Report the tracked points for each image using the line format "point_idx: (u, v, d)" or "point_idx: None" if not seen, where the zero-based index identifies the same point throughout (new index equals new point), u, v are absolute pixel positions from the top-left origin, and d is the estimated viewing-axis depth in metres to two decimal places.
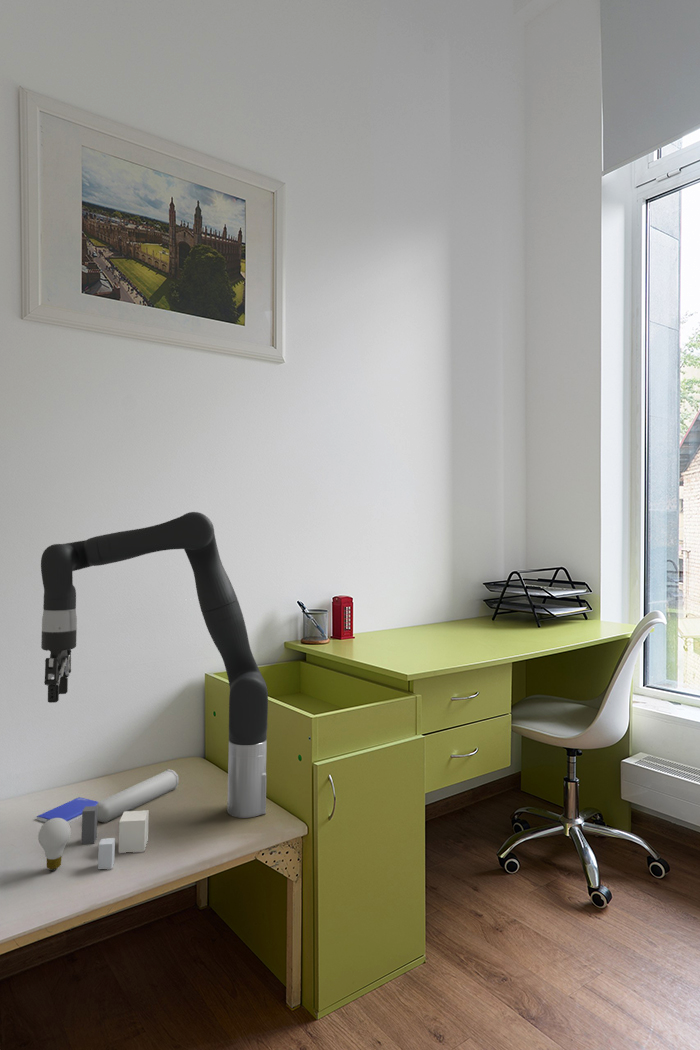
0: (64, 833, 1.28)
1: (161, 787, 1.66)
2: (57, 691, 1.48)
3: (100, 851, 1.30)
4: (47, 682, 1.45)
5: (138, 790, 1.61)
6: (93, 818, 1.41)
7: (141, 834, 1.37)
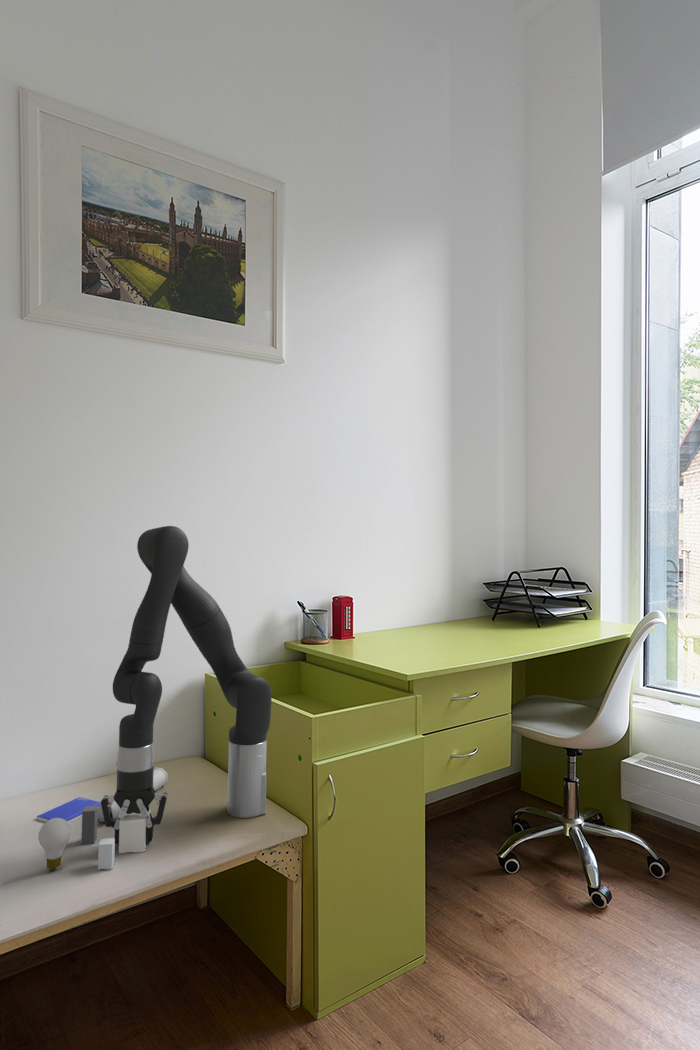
0: (64, 833, 1.28)
1: (154, 784, 1.68)
2: None
3: (100, 851, 1.30)
4: None
5: None
6: (93, 818, 1.41)
7: (141, 834, 1.37)
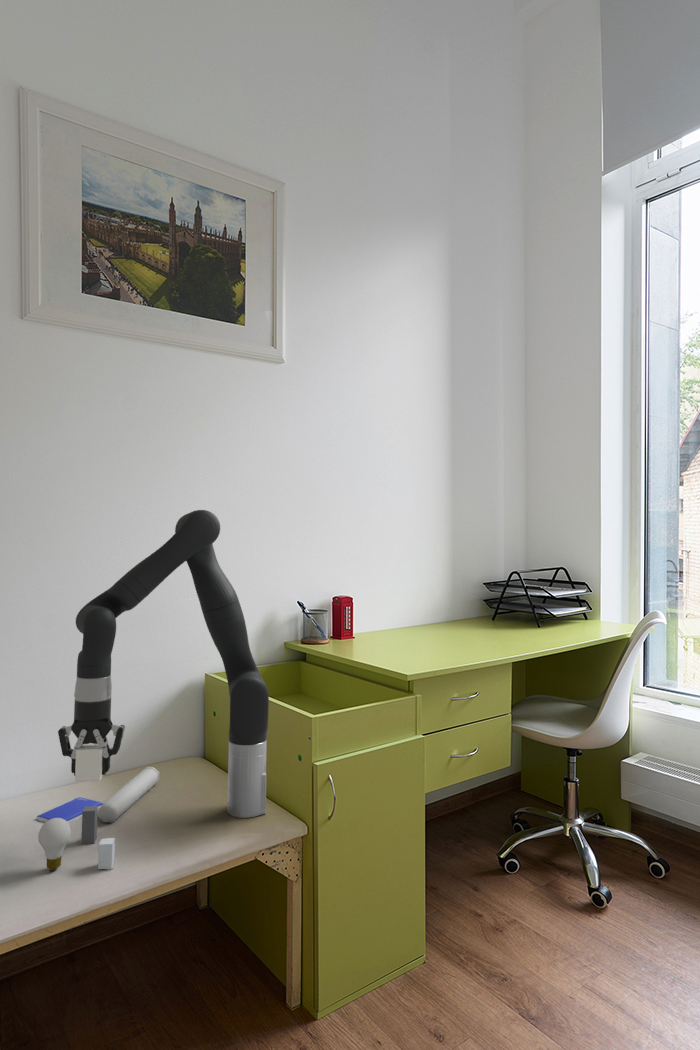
0: (64, 833, 1.28)
1: (148, 783, 1.69)
2: None
3: (100, 851, 1.30)
4: (117, 751, 1.43)
5: (133, 788, 1.62)
6: (93, 818, 1.41)
7: (97, 763, 1.40)
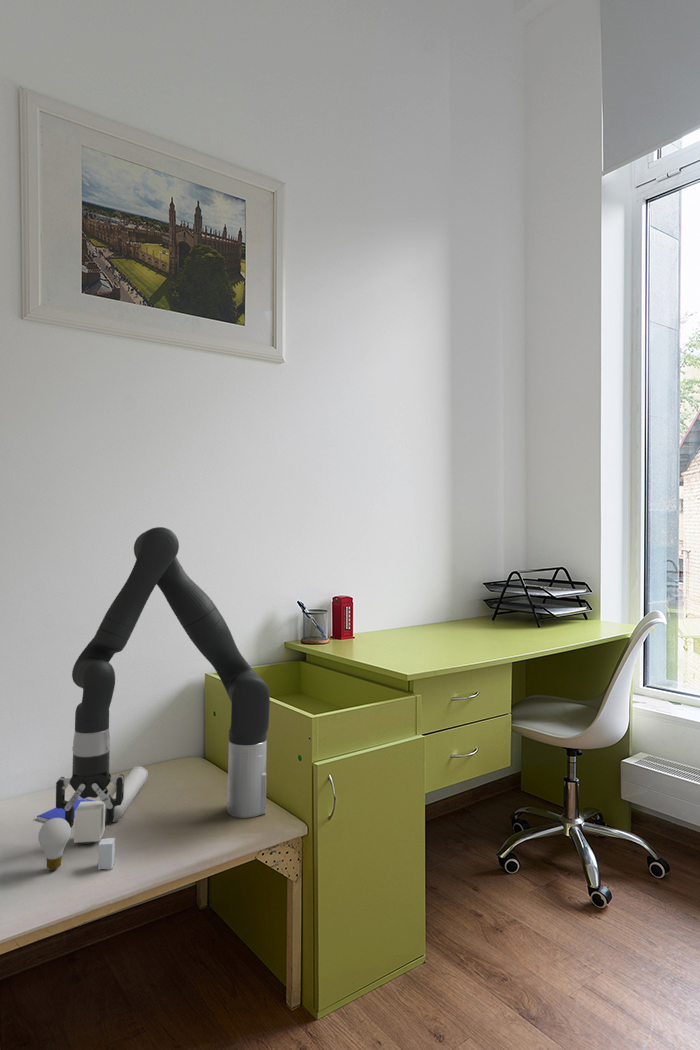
0: (64, 833, 1.28)
1: (141, 782, 1.69)
2: None
3: (100, 851, 1.30)
4: (121, 801, 1.42)
5: (130, 788, 1.62)
6: None
7: (96, 824, 1.40)
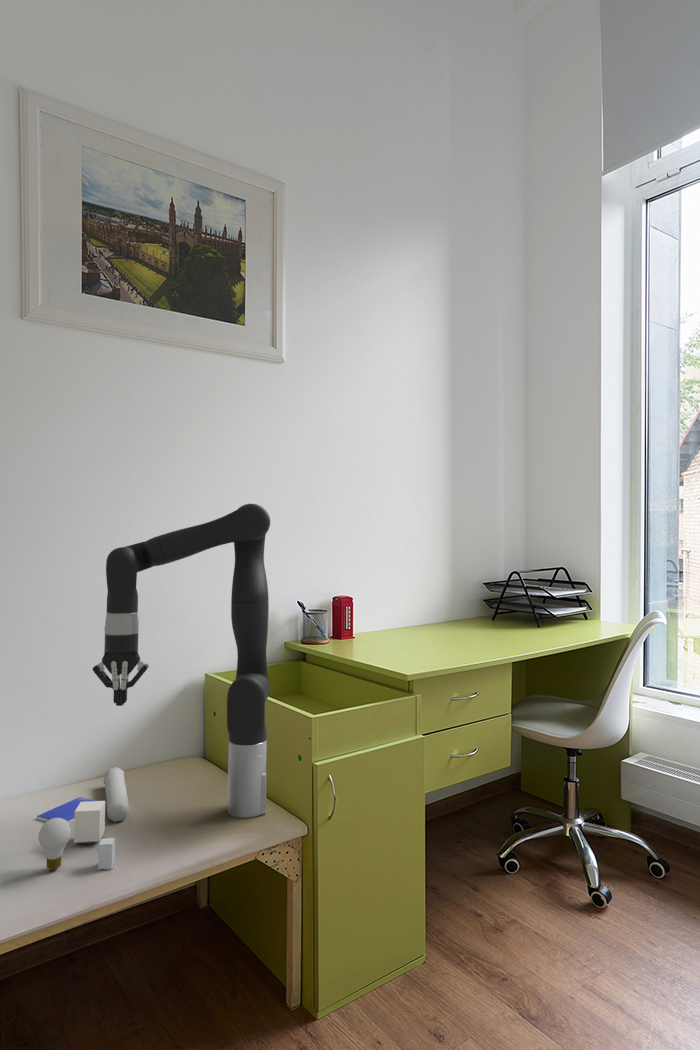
0: (64, 833, 1.28)
1: None
2: None
3: (100, 851, 1.30)
4: (133, 685, 1.53)
5: (122, 787, 1.62)
6: None
7: (96, 824, 1.40)
